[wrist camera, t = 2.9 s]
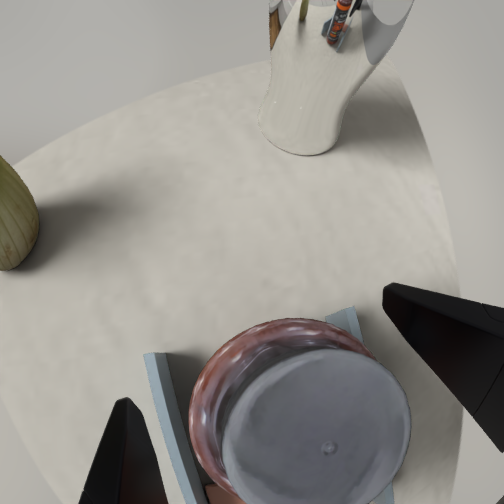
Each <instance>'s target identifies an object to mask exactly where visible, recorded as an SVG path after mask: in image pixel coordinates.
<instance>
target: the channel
mask: <svg viewBox="0 0 504 504" xmlns="http://www.w3.org/2000/svg"><path fill="white" fill-rule="evenodd" d="M326 321H327V323H330V324H333V325H335V326H336V327H339V328H341V329H343V330H346V331H347V332H348V333H350V334H351V335H353V336H354V337H356V338H358V340H359V341H360V342H362V343H363V344H364V341H363V337H362V334H361V330H360V326H359V322H358V319H357V315H356V311H355V308H354V306H353V307H350V308H346V309H343V310H341V311H339V312H336V313H334V314H331V315H329V316H326ZM143 355H144V360H145V365H146V369H147V374H148V378H149V383H150V387H151V391H152V395H153V399H154V403H155V407H156V411H157V415H158V418H159V422H160V426H161V429H162V433H163V436H164V440H165V443H166V446H167V449H168V453H169V456H170V459H171V462H172V465H173V468H174V471H175V474H176V477H177V480H178V483H179V486H180V488H181V491H182V494H183V497H184V499H185V502H186V504H208V501H207V498H206V496H205V493H204V490H203V487H202V484H201V481H200V478H199V475H198V472H197V469H196V466H195V463H194V460H193V457H192V453H191V450H190V447H189V443H188V440H187V437H186V433H185V430H184V426H183V422H182V419H181V415H180V411H179V407H178V404H177V400H176V396H175V392H174V388H173V383H172V379H171V375H170V371H169V366H168V362H167V357H166V353H148V354H143ZM205 489H206V492H207V494H208V497H209V500H210V503H211V504H246V503H245V502H244V501H243V500H241V499H239V498H237V497H235V496H233V495H231V494H229V493H228V492H227V491H225V490H224V489H222V488H221V487H220V486H219V485H217V484H210V485H205ZM372 501H374V502H375V503H376V504H394V495H393V488H392V481H391V483H390V484H389V485H388V486H387V487H386V488H385V489H384V490H383V491H382V492H381V493H380V494H379V495H378V496H377V497H376V498H375V499H374V500H372Z"/></svg>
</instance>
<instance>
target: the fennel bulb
mask: <svg viewBox="0 0 504 504" xmlns="http://www.w3.org/2000/svg"><path fill="white" fill-rule="evenodd" d="M38 231H39V214H38V210H37V208H36V205H35V202H34V199H33V196H32V195H31V193H30V191H29V189H28V187H27V186H26V185H25V183H24V182H23V180H22V179H21V178H20V176H19V175H18V174H17V172H16V171H15V170H14V169H13V168H12V167H11V166H10V164H8V163H7V162H6V161H5V160H4V159H3V158H2V157H1V156H0V271H6V270H10V269H12V268H15V267H17V266H18V265H19V264H20V263H21V262H22V261H23V260H24V259H25V258H26V256H27V255H28V254H29V253H30V251H31V250H32V248H33V246H34V244H35V242H36V239H37V235H38Z"/></svg>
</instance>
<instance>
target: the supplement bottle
mask: <svg viewBox="0 0 504 504" xmlns="http://www.w3.org/2000/svg"><path fill="white" fill-rule="evenodd" d="M188 423H189V432H190V438H191V443H192V446H193V449H194V452H195V454H196V457H197V459H198V461H199V463H200V464H201V466H202V467H203V469H204V470H205V471H206V473H207V474H208V475H209V477H210V478H211V479H212V480H213V481H214V482H215V483H216V484H217V485H219V486H220V487H221V488H222V489H224V490H225V491H227V492H228V493H229V494H231V495H233V496H235V497H237V498H239V499H241V500H243V501H244V502H245V503H246V504H369V503H370V502H371V501H372V500H374V499H375V498H376V497H377V496H378V495H379V494H380V493H381V492H382V491H383V490H384V489H385V488H386V487H387V486H388V485H389V484H390V483H391V481H392V480H393V478H394V477H395V475H396V474H397V472H398V470H399V469H400V467H401V465H402V463H403V461H404V457H405V455H406V453H407V449H408V446H409V441H410V433H411V414H410V407H409V405H408V401H407V397H406V394H405V392H404V390H403V388H402V386H401V385H400V383H399V382H398V381H397V379H396V378H395V377H394V375H393V374H392V373H391V372H390V371H389V370H387V369H386V368H385V367H384V366H383V365H382V364H381V363H378V362H377V360H376V359H375V357H374V356H373V354H372V353H371V352H370V351H369V350H368V349H367V348H366V347H365V345H364V344H363V343H362V342H360V341H359V340H358V338H356V337H354V336H353V335H351V334H350V333H348V332H347V331H346V330H343V329H341V328H339V327H336V326H335V325H333V324H330V323H326V322H322V321H318V320H314V319H304V318H285V319H278V320H273V321H270V322H265V323H262V324H259V325H256V326H254V327H252V328H250V329H247V330H246V331H244V332H242V333H240V334H238V335H236V336H235V337H233V338H232V339H231V340H229V341H228V342H227V343H225V344H224V345H223V346H222V347H221V348H220V349H218V350H217V352H216V353H215V354H214V355H213V356H212V357H211V358H210V360H209V361H208V362H207V364H206V365H205V367H204V368H203V370H202V371H201V373H200V375H199V377H198V379H197V381H196V383H195V386H194V388H193V391H192V396H191V400H190V405H189V422H188Z"/></svg>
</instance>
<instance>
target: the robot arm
mask: <svg viewBox="0 0 504 504" xmlns="http://www.w3.org/2000/svg"><path fill="white" fill-rule="evenodd" d="M382 306H383V309H384V311H385V313H386V314H387V315H388V317H389V318H390V319H391V321H392V322H393V323H394V325H395V326H396V327H397V329H398V330H399V332H400V333H401V334H402V336H403V337H404V338H405V340H406V341H407V342H408V343H409V344H410V346H411V347H412V348H413V349H414V350H415V351H416V352H417V353H418V354H419V356H420V357H421V358H422V359H423V360H424V361H425V362H426V363H427V364H428V366H429V367H430V368H431V369H432V370H433V371H434V372H435V374H436V375H437V376H438V377H439V378H440V379H441V380H442V382H443V383H444V384H445V385H446V386H447V387H448V388H449V390H450V391H451V392H452V393H453V394H454V395H455V397H456V398H457V399H458V400H459V401H460V403H461V404H462V405H463V406H464V407H465V409H466V410H467V411H468V412H469V413H470V415H471V416H473V418H474V419H475V421H476V422H477V423H478V424H479V426H480V427H481V428H482V429H483V431H484V432H485V433H486V434H487V436H488V437H489V438H490V439H491V440H492V442H493V443H494V444H495V446H496V447H497V448H498V449H499V451H500V452H502V453H503V452H504V308H501V307H497V306H492V305H488V304H483V303H482V304H481V303H479V302H475V301H470V300H466V299H462V298H458V297H454V296H449V295H445V294H441V293H437V292H433V291H428V290H424V289H420V288H416V287H411V286H407V285H403V284H399V283H391V284H389V285H387V286H385V287H384V289H383V300H382ZM78 504H168V500H167V497H166V493H165V489H164V485H163V481H162V477H161V473H160V469H159V465H158V461H157V457H156V454H155V451H154V448H153V445H152V442H151V439H150V436H149V433H148V430H147V426H146V423H145V420H144V417H143V414H142V412H141V411H140V410H139V408H138V407H137V406H136V405H135V404H134V403H133V401H132V400H131V399H130V398H128V397H125V398H122V399H119V400H117V401H116V402H115V405H114V407H113V410H112V412H111V415H110V417H109V420H108V423H107V425H106V428H105V430H104V433H103V436H102V438H101V441H100V443H99V446H98V449H97V452H96V454H95V457H94V460H93V463H92V465H91V468H90V471H89V474H88V477H87V480H86V483H85V486H84V491H82V494H81V497H80V500H79V503H78ZM496 504H504V496H503V497H502V498H501V499H500V500H499V501H498V502H497V503H496Z"/></svg>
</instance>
